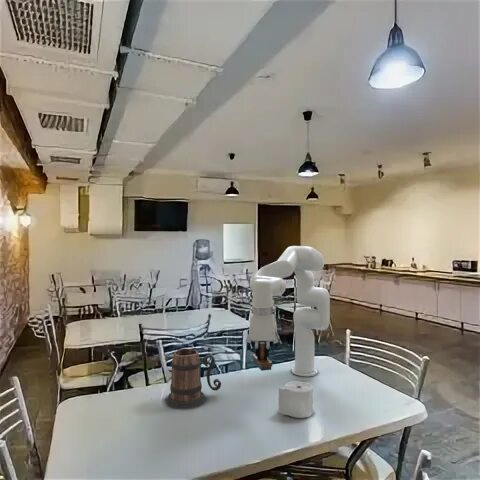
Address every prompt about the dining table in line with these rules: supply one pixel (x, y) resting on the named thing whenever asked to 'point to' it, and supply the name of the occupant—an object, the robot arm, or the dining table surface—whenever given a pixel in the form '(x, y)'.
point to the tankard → (188, 379)
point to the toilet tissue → (296, 399)
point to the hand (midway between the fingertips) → (262, 357)
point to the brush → (262, 359)
